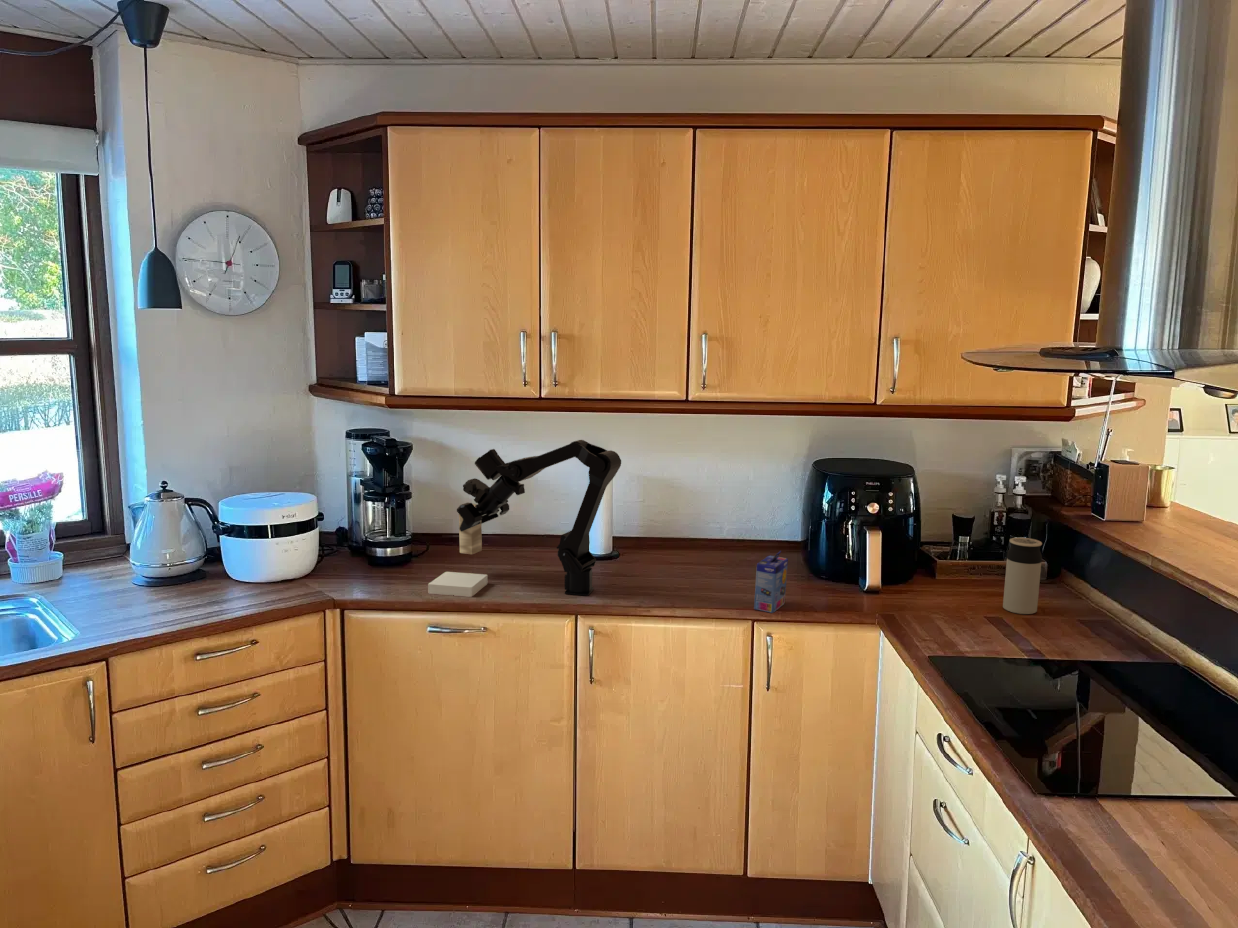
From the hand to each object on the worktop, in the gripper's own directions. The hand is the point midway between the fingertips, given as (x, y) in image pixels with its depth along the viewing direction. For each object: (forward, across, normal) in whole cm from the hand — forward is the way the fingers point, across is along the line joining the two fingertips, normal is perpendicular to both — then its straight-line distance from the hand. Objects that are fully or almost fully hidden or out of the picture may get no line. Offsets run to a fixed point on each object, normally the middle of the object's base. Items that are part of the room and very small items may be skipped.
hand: (466, 527), depth 255 cm
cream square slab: (+6, +12, +14) cm, 19 cm away
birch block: (+4, 0, +6) cm, 7 cm away
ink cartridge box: (-50, -11, +69) cm, 86 cm away
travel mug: (-90, -37, +110) cm, 147 cm away
